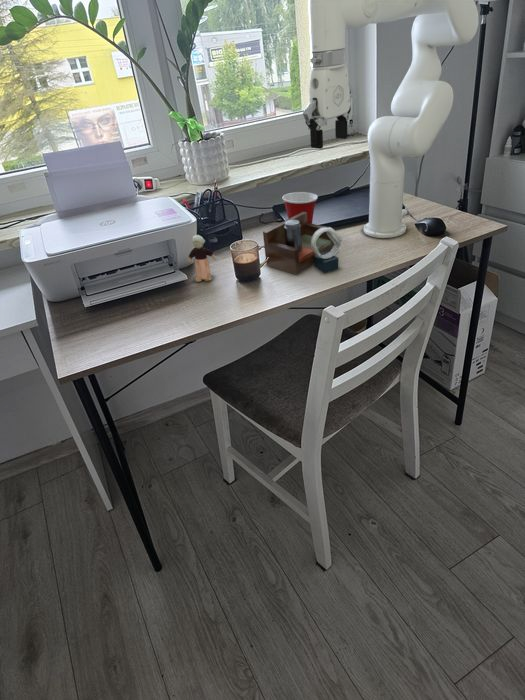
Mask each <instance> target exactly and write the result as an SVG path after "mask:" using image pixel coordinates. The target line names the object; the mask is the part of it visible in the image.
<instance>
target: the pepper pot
mask: <svg viewBox="0 0 525 700" xmlns="http://www.w3.org/2000/svg"><path fill="white" fill-rule="evenodd" d="M284 228H285V241H286V246H290V247H294V248H298V252H299V253H300V252H301V251H302V235H301V225H300V222H299V221H298V220H288V221H286V222H285V226H284Z"/></svg>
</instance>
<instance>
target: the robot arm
mask: <svg viewBox="0 0 525 700" xmlns="http://www.w3.org/2000/svg"><path fill="white" fill-rule="evenodd" d="M413 17H415V18H414V20H413V23H412V27H411V34H410V35H411V49H412V50H411V53H412V57H411V58H412V59H411V64H410V66H409V68H408V70H407V72H406V74H405V76H404V77H403V79H402V81H401V83H400V84H399V86H398V88H397V89H396V91H395V93H394V95H393V98H392V100H391V103H390V111H391V114H392V115H384V116H380V117H378V118H376V119H374V120H373V121H372V122H371V124H370V125H369V127H368V130H367V135H366V136H367V137H366V138H367V147H368V152H369V166H370V167H369V173H370V174H369V200H368V202H369V204H368V205H369V207H368V222H367V223H366V224H364V226H363V229H362V230H363V233H364V234H365V235H367V236H369V237H371V238H376V239H377V238H378V239H392V238H396V237H399V236H401V235H404V234H405V233H406V231H407V225H406V224H405V222H403V221H402V219H403V218H404V217H405V216H407V215H408V210H407V209H405V208H403V204H404V190H405V176H406V168H405V163H404V160H403V158H409V159H419V158H422V157H424V155H426V154H427V153H428V151H430V149H431V147H432V145H433V144H434V142H435V140H436V138H437V137H438V135H439V133H440V131H441V130H442V128H443V126H444V125H445V123H446V121H447V119H448V117H449V115H450V113H451V111H452V107H453V103H454V90H453V87H452V86H451V84H450V83H449V82H447V81H444V80H440V78H441V75H442V70H443V69H442V63H441V60H440V58H439V56H438V55H439V54H438V52H437V47H452V46H453V47H454V46H456V47H457V46H463V45H466V44H468V43H469V42H471V41H472V40H473V38H475V35H476V34H477V32H478V28H479V22H480V21H479V19H480V17H479V11H478V7H477V5H476V1H475V0H308V25H309V26H308V27H309V29H308V30H309V52H310V53H309V54H310V72H309V84H308V105H307V106H306V107H305V109H304V110H303V112H302V115H303V118H304V120H305V124H306V126H307V129H308V131H309V133H310V135H309V136H310V148H312V149H323V148H324V132H323V129H321V128H322V126H323V124H324V121H325V120H332V119H334V118H336V120H335V121H334V122H335V123H334V126H335V127H334V130H335V135H334V136H335V138H336V139H339V140H340V139H342V140H346V139H348V121H349V119H350V113H351V110H352V108H351V107H352V103H353V97H352V96H351V95H350V94H351V92H350V80H349V72H348V67H347V64H346V29H348V30H349V29H359V28H363V27H366V26H368V25H369V24H370V25H371V24H373V25H374V24H375V25H376V24H385V23H391V22H396V21H400V20H403V19H408V18H413Z"/></svg>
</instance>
